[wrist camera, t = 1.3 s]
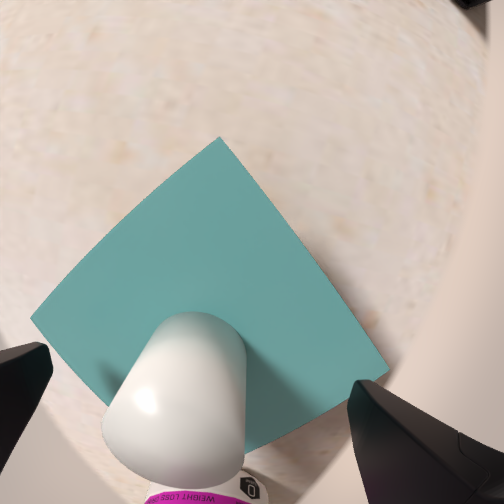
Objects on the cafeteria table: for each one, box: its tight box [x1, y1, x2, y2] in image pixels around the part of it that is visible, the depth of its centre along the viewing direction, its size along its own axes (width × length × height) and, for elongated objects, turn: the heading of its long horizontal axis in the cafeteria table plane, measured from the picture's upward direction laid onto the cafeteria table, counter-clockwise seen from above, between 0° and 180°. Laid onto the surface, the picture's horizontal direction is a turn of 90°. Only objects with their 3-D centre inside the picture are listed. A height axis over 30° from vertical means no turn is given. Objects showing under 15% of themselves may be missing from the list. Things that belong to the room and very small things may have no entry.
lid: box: [30, 137, 390, 489], centre depth 8 cm, size 9×9×6 cm
